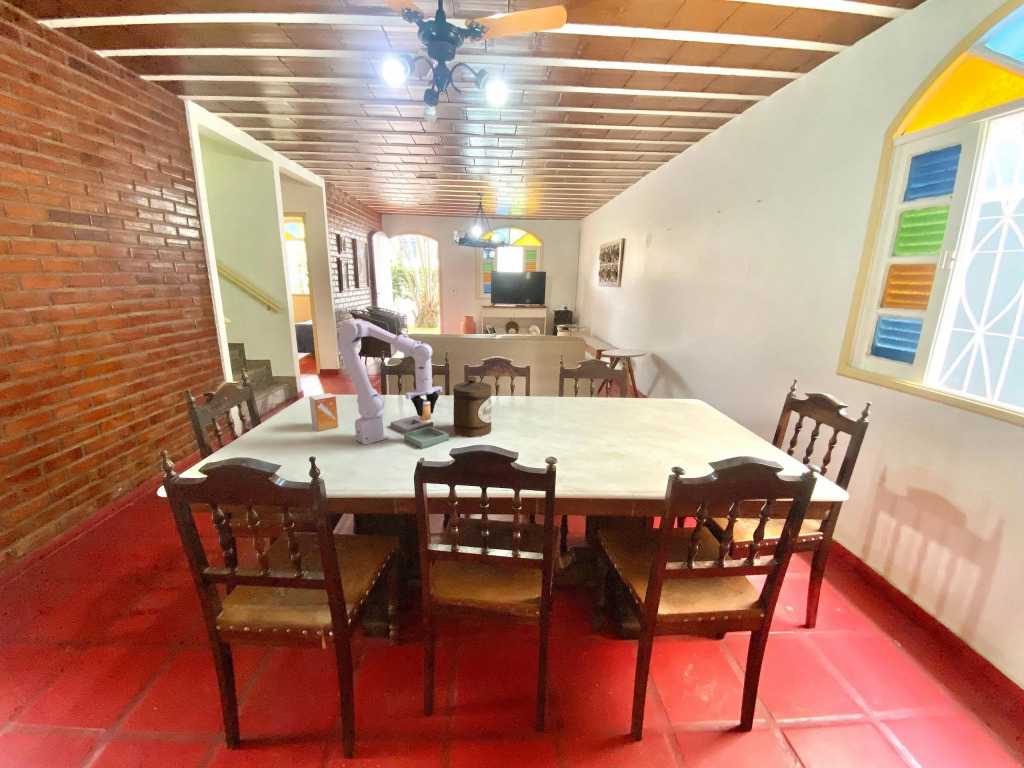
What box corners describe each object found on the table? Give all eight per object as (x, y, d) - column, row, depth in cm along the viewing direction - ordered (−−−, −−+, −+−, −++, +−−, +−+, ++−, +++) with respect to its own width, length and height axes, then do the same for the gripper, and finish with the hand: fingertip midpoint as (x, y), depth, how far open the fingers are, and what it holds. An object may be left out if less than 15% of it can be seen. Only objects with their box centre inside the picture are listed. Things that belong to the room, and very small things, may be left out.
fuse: (423, 424, 148) (422, 403, 146) (417, 421, 151) (416, 401, 149) (433, 422, 151) (432, 401, 149) (427, 419, 154) (426, 398, 152)
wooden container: (490, 437, 156) (490, 381, 150) (451, 437, 156) (450, 380, 150) (492, 424, 170) (492, 372, 165) (456, 424, 170) (455, 372, 165)
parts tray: (422, 449, 144) (421, 442, 144) (404, 440, 152) (403, 433, 151) (448, 440, 152) (448, 434, 152) (430, 432, 160) (430, 426, 160)
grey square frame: (407, 434, 158) (406, 429, 157) (390, 426, 166) (390, 422, 165) (433, 427, 166) (432, 422, 165) (416, 419, 174) (416, 415, 174)
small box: (318, 432, 159) (314, 399, 156) (312, 427, 163) (308, 396, 160) (339, 427, 164) (336, 395, 161) (332, 423, 169) (329, 392, 166)
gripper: (412, 383, 139) (414, 421, 142) (447, 376, 149) (448, 412, 152) (401, 379, 144) (403, 416, 147) (435, 373, 154) (436, 408, 157)
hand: (425, 414), depth 150 cm, fingers closed on fuse, 4 cm apart
